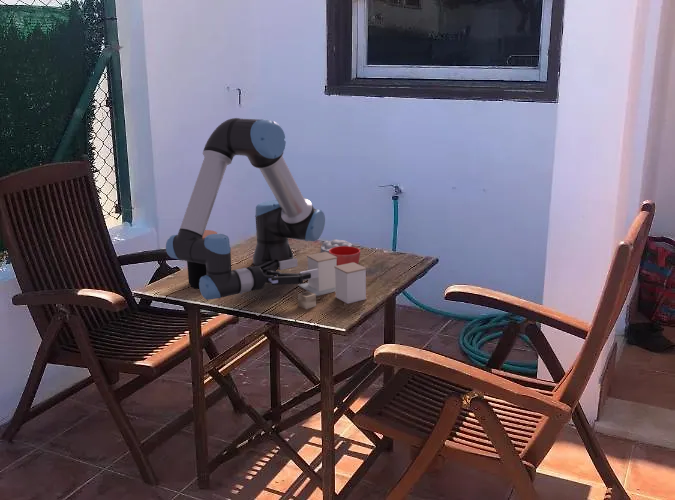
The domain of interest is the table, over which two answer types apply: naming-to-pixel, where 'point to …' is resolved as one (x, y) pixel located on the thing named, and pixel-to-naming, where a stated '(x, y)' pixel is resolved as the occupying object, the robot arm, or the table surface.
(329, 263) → the cover canister
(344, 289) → the empty canister
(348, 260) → the flower pot
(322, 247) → the lumpy-topped squat cylinder
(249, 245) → the table surface
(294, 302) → the table surface
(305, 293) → the open box
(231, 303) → the table surface
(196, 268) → the coffee jar
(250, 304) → the table surface
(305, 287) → the felt mat
